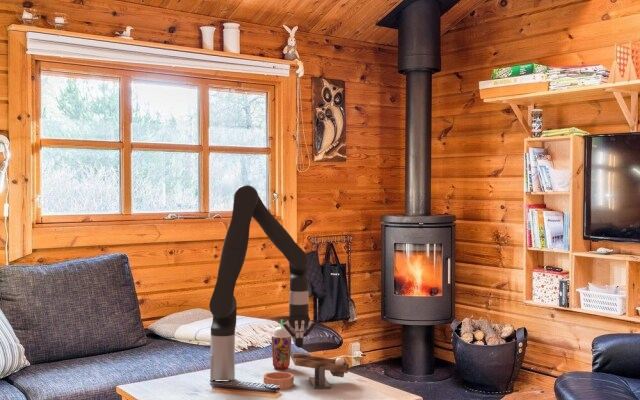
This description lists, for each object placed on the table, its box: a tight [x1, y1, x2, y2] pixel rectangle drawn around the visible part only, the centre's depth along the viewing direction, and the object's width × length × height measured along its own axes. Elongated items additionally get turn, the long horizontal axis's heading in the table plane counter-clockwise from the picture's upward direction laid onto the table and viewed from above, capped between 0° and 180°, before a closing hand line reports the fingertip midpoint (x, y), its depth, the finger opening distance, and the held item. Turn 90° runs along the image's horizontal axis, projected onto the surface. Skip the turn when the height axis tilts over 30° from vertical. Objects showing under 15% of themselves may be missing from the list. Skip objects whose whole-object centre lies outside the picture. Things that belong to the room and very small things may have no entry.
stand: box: [308, 366, 331, 390], centre depth 271 cm, size 6×14×8 cm, turn 9°
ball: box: [335, 357, 345, 365], centre depth 272 cm, size 4×4×4 cm
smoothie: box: [270, 319, 293, 371], centre depth 294 cm, size 8×8×20 cm
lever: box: [290, 352, 350, 378], centre depth 275 cm, size 20×17×5 cm
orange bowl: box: [262, 371, 295, 390], centre depth 268 cm, size 11×11×4 cm
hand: (299, 347), depth 278 cm, fingers closed
